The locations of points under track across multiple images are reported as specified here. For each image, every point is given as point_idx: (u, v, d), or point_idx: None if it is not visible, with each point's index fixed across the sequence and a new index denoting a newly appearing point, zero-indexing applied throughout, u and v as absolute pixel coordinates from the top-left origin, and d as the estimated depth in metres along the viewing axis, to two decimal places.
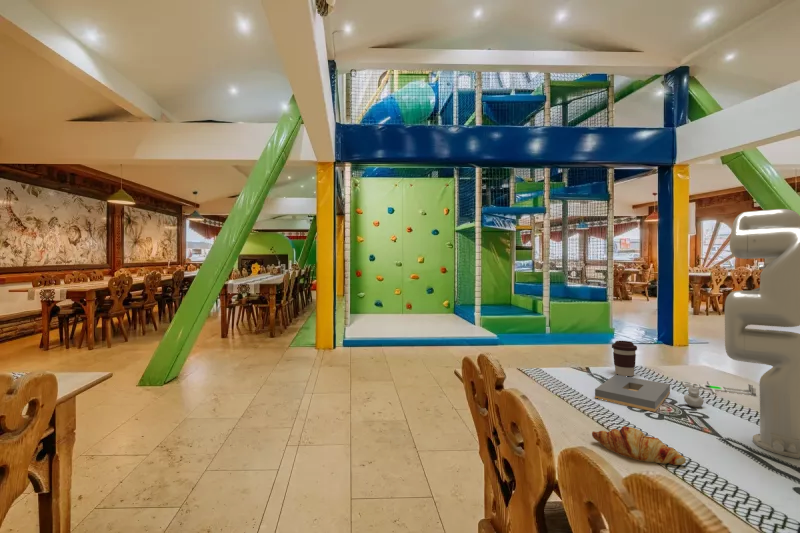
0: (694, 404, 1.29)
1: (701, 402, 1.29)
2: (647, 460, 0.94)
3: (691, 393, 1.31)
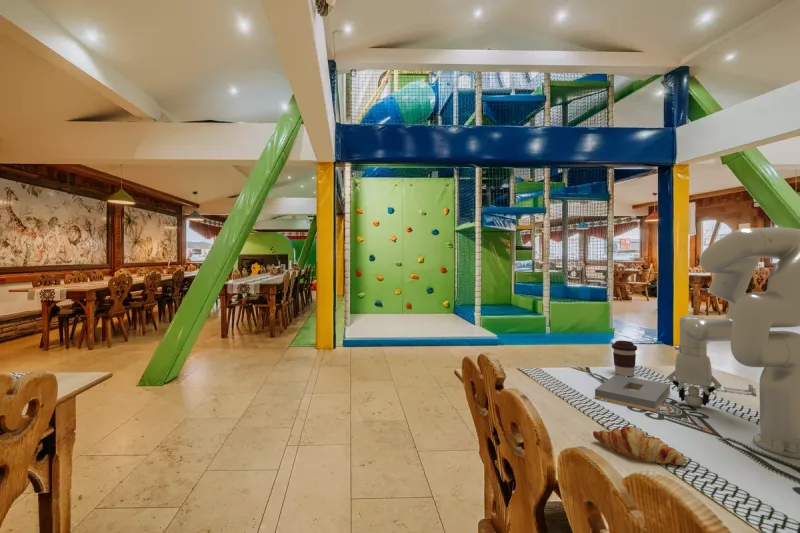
0: (694, 404, 1.29)
1: (701, 402, 1.29)
2: (648, 460, 0.94)
3: (691, 393, 1.31)
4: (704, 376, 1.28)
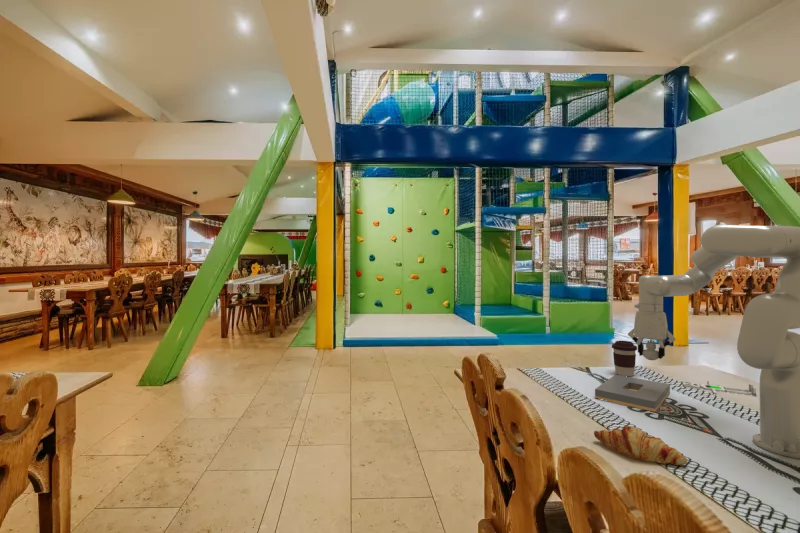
0: (650, 357, 1.37)
1: (657, 355, 1.37)
2: (648, 460, 0.94)
3: (648, 347, 1.38)
4: (659, 330, 1.35)
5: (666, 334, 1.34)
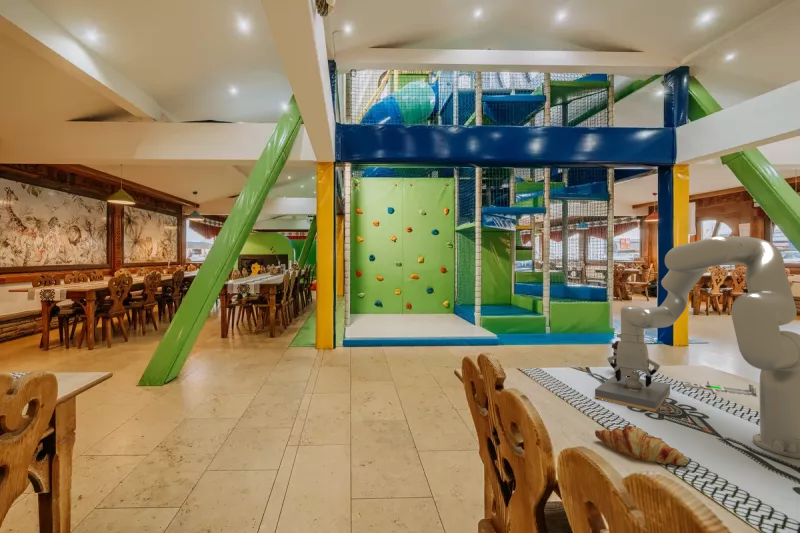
0: (632, 387, 1.40)
1: (639, 386, 1.40)
2: (649, 460, 0.94)
3: (632, 377, 1.41)
4: (641, 361, 1.38)
5: (647, 365, 1.38)
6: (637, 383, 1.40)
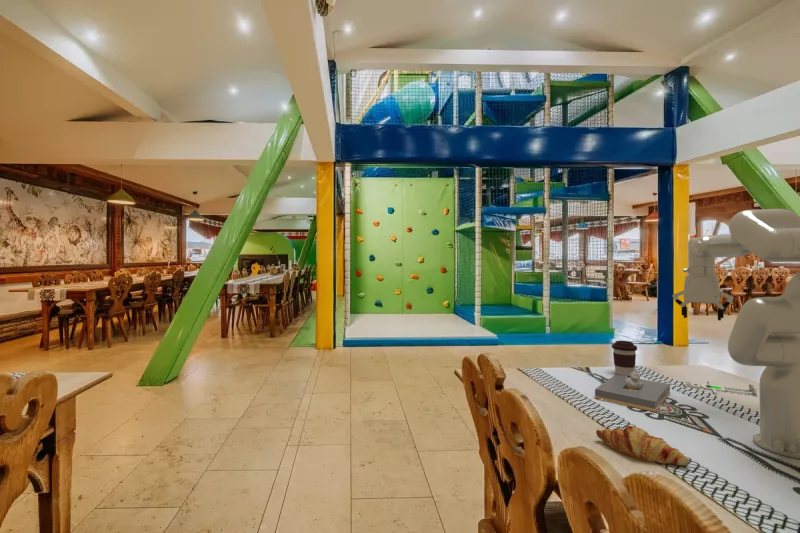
0: (632, 387, 1.40)
1: (639, 386, 1.40)
2: (649, 460, 0.94)
3: (632, 377, 1.41)
4: (712, 293, 1.30)
5: (719, 297, 1.30)
6: (637, 383, 1.40)
